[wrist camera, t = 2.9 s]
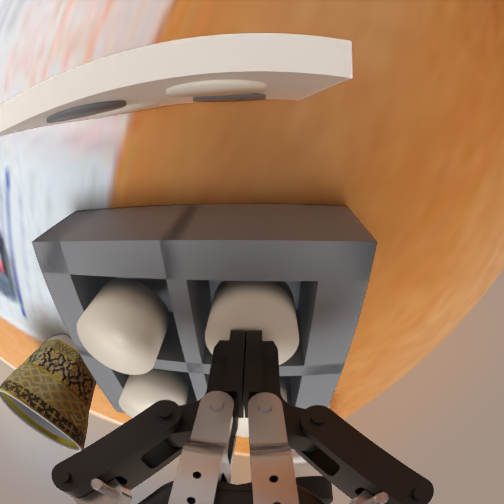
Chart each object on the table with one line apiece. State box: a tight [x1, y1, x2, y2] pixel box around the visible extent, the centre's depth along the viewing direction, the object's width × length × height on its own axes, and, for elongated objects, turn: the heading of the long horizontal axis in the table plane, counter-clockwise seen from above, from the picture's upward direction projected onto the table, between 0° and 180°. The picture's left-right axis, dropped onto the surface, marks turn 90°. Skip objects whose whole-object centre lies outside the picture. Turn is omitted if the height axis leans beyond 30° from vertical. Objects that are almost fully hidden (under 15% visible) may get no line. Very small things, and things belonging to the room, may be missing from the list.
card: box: [0, 33, 353, 136], centre depth 9 cm, size 12×1×9 cm, turn 91°
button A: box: [205, 281, 299, 365], centre depth 14 cm, size 5×5×3 cm
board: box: [32, 204, 377, 413], centre depth 18 cm, size 18×17×5 cm
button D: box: [119, 368, 189, 418], centre depth 17 cm, size 5×5×3 cm
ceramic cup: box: [0, 334, 96, 452], centre depth 20 cm, size 13×10×10 cm
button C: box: [77, 278, 170, 375], centre depth 14 cm, size 5×5×3 cm
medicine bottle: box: [291, 404, 333, 504], centre depth 21 cm, size 7×7×12 cm
